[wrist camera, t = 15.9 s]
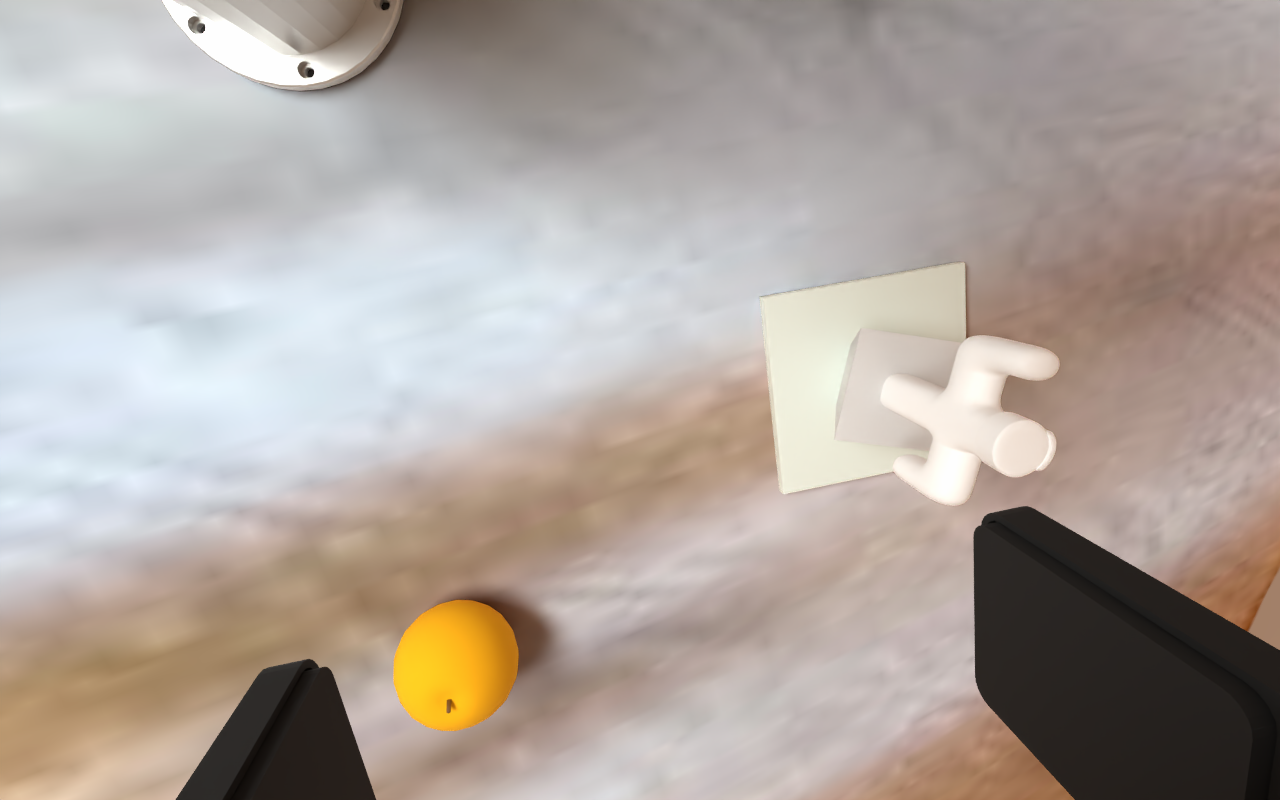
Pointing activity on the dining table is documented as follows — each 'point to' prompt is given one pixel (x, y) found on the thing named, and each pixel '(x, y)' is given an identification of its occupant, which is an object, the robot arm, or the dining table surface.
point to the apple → (455, 665)
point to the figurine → (943, 407)
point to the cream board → (844, 363)
